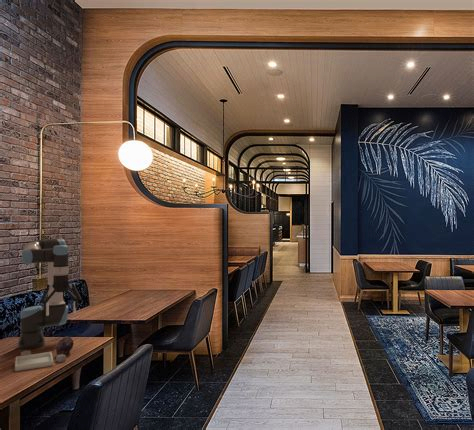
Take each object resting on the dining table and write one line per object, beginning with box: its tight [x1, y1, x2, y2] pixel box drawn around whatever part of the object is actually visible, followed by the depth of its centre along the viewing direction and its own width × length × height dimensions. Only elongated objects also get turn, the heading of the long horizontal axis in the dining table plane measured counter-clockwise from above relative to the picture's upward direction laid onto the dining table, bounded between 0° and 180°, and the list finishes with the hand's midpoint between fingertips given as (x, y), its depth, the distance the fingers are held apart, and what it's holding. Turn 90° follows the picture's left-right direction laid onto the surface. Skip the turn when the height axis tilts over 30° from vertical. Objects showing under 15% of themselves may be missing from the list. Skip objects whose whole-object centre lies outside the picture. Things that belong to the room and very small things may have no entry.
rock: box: [55, 335, 74, 355], centre depth 237 cm, size 12×9×10 cm
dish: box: [14, 351, 54, 372], centre depth 220 cm, size 18×18×2 cm
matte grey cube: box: [20, 350, 32, 356], centre depth 231 cm, size 4×4×3 cm
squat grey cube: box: [55, 354, 67, 363], centre depth 224 cm, size 4×4×3 cm
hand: (61, 314), depth 220 cm, fingers open, 13 cm apart
